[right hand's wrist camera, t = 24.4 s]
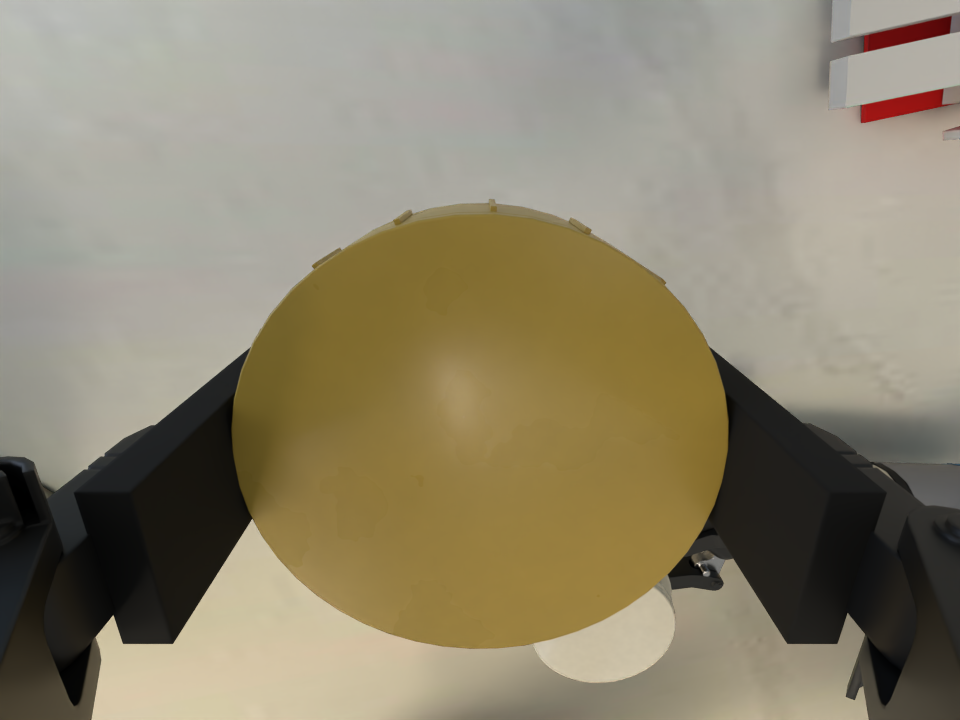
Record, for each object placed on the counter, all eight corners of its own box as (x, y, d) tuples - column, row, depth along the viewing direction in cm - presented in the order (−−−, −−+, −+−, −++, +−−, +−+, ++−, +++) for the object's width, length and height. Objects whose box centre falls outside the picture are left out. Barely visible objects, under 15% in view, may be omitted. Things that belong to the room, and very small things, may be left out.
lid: (292, 569, 14) (257, 644, 12) (253, 186, 10) (194, 193, 8) (648, 583, 14) (679, 659, 12) (726, 210, 10) (788, 223, 8)
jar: (626, 435, 44) (718, 605, 27) (573, 511, 46) (627, 708, 30) (537, 392, 42) (576, 543, 26) (487, 473, 45) (493, 657, 28)
